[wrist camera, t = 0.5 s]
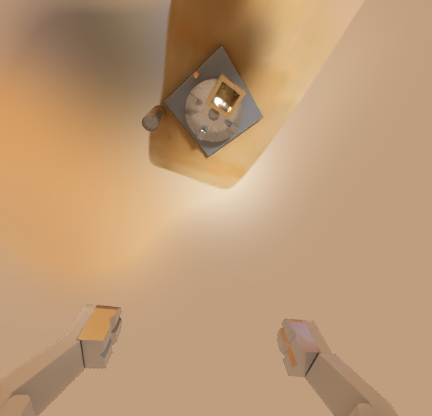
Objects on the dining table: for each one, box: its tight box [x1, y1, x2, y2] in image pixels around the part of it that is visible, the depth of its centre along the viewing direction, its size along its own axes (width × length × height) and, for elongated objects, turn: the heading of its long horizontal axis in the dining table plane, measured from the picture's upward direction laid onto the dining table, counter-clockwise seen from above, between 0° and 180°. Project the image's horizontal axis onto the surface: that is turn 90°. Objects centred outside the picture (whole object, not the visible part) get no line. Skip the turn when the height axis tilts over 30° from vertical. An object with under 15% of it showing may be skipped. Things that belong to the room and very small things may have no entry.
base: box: [164, 45, 263, 156], centre depth 47 cm, size 17×17×4 cm
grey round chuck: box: [185, 72, 246, 142], centre depth 45 cm, size 14×13×6 cm
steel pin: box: [142, 106, 165, 131], centre depth 46 cm, size 3×3×9 cm
